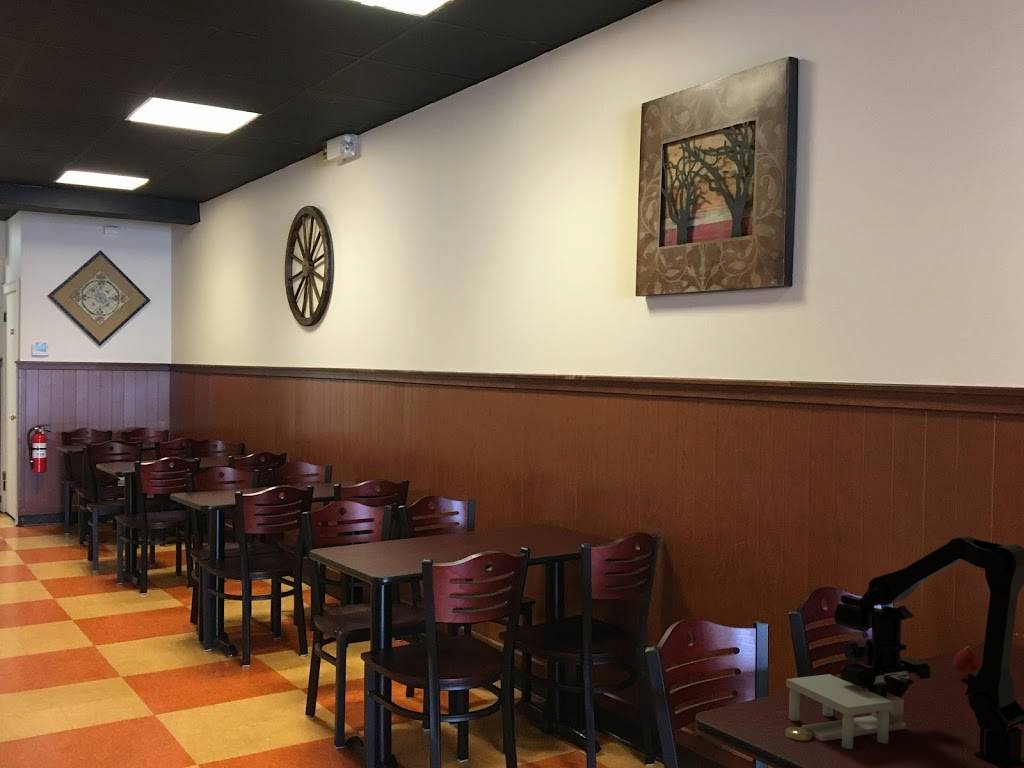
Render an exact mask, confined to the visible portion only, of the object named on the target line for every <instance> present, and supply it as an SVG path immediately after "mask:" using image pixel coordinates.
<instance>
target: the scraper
mask: <svg viewBox="0 0 1024 768" xmlns="http://www.w3.org/2000/svg"><path fill="white" fill-rule="evenodd" d="M886 699H889V700H891V701H893V709H891V710H889V732H892V731H900V730H905V729H907V723H905V722H904V705H905V704H904V703H905V702H904V698H903V697H902V698H900V697H897V696H895V695H892V694H890V693H888V692H887V696H886ZM842 723H843V719H837V720H831V721H823V722H816V723H809V724H803V725H801V726H800V727H801V728H805V729H808V730H810V731H811V732H812V738H815V739H817V740H819V741H820V742H825V741H832V740H833V741H834V740H838V739H842ZM877 729H878V714H877V713H876V712H871V715H866V716H859V717H854V729H853V737H859V736H867V735H873V734H877Z"/></svg>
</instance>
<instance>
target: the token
mask: <svg viewBox="0 0 1024 768" xmlns="http://www.w3.org/2000/svg"><path fill="white" fill-rule="evenodd" d="M801 727H802V726H789V727H787V728H785V737H787V738H788V739H790V740H794V741H800V742H802V741H803V742H806V741H807V742H808V741H811V740H812V739H813V736H812V732H811V731H810V730H808V729H805V728H801Z"/></svg>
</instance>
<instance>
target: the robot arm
mask: <svg viewBox="0 0 1024 768" xmlns="http://www.w3.org/2000/svg"><path fill="white" fill-rule="evenodd" d="M961 561H965V562H967V563H969V564H971V565H973V566H975V567H978V568H979V569H984V577H985V578H984V579H985V581H986V583H987V584H986V585H987V587H988V590H989V597H988V598H989V599H988V600H989V601H988V607H987V608H988V609H987V616H986V623H985V632H984V640H983V641H984V643H983V650H982V656H981V658H982V659H981V664H980V665H981V667H980V669H979V670H977V671H975V672H972V673H970V674H968V680H967V689H966V692H964V696H967V703H968V706H969V707H970V708H971V709H972V711H973V713H974V715H975V718H976V721H977V724H978V727H979V750H976V751H974V755H975V756H977V757H980V758H982V759H984V760H986V761H988V762H990V763H993V764H995V765H996V766H997V765H998V766H999V767H1003V768H1005V767H1011V766H1017V765H1022V764H1023V765H1024V757H1022V749H1023V748H1022V747H1023V746H1022V745H1023V741H1022V740H1023V730H1022V729H1020V726H1023V725H1024V709H1023V707H1022V706H1021V704H1019V702H1018V701H1017V700H1016V699H1015V684H1014V680H1013V678H1012V675H1011V672H1010V662H1011V655H1012V645H1013V637H1014V629H1015V621H1016V611H1017V604H1018V597H1019V594H1020V592H1021V590H1022V589H1023V586H1024V547H1023V546H1022V545H1019V544H1017V543H1015V544H1014V543H1010V544H1005V545H1004V544H1002V543H997V542H993V541H992V542H991V541H987V540H982V539H977V538H974V537H973V536H972V537H971V536H968V535H963V536H962V535H961V536H957V537H954V538H951V539H950V540H949V541H948V542H947V543H945V544H944V545H941V546H940V547H938V548H937V549H935V550H933V551H932V552H930V553H928V554H926V555H924V556H922V558H920V559H918V560H916V561H914V562H912V563H911V564H909V565H908V566H906V567H904V568H901V569H897V570H895V571H891V572H888V573H884V574H882V575H879V576H875V577H872V579H871V580H870V581H869V582H868V589H867V591H866V592H865V593H864V594H863V596H862V597H856V596H853V595H851V594H842V595H840V601H839V602H838V604H837V606H836V609H835V611H834V621H835V624H836V625H837V626H838V627H841V628H845V629H850V630H854V631H858V632H862V633H866V632H868V631H869V630H870V629H871V638H868V639H866V641H865V646H864V645H863V646H859V645H858V644H857V643H856V642H850V643H844V649H843V651H844V656H845V659H846V660H851V662H852V663H851V664H844V665H842V667H841V668H840V679H843V680H846V681H847V682H849V683H851V684H854V685H857V686H865V687H866V688H867V690H868V691H870V692H872V693H875V694H877V695H879V696H882V697H884V698H886V696H887V692H888V693H890V694H892V695H895V696H897V697H900V698H902V699H903V696H904V695H905V693H906V692H907V690H908V689H909V688H910V686H911V685H914V683H915V682H914V680H912V679H910V678H909V677H910V676H909V674H915V676H916V677H917V679H920V680H922V679H923V680H924V679H931V668H930V666H929V665H928V663H927V662H925V661H921V660H919V659H916V658H914V657H903V658H902V651H905V650H906V651H907V644H906V643H903V641H902V636H903V635H902V634H903V621H906V620H909V619H913V618H914V615H913V612H912V613H911V611H909V610H908V609H907V607H906V605H900V606H898V607H892V606H888V605H892V604H897V603H900V602H903V601H904V600H905V599H907V598H908V597H909V596H910V595H912V594H913V593H914V592H915V590H916V589H917V588H918V587H919V586H920V585H922V584H923V582H925V581H928V580H929V579H931V578H933V577H934V576H936V575H938V574H939V573H941V572H943V571H945V570H947V569H949V568H951V567H952V566H955V565H956V564H957V563H959V562H961ZM875 606H881V608H878V607H875ZM861 662H863V665H862V664H859V663H861ZM867 666H870V667H867ZM876 713H877V714H878V711H877V712H876Z"/></svg>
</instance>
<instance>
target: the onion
mask: <svg viewBox="0 0 1024 768" xmlns="http://www.w3.org/2000/svg"><path fill="white" fill-rule="evenodd" d="M952 664H953V668H954V670H955V671H956V672H957V673H958V675H960V676H961V677H962V678H963V679H964V680H967V681H968V674H970V673H972V672H975V671H977V670H979V669H980V668H981V665H982V664H981V660H980V657H978V655H977V654H976V653H975V652H974V651H973V650H972V649H971V647H970V646H969V645H967V646H965V647H964V648H963V649H961V650H959V651H958V652H957V653H956V654H955V655H954V658H953V662H952Z"/></svg>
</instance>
